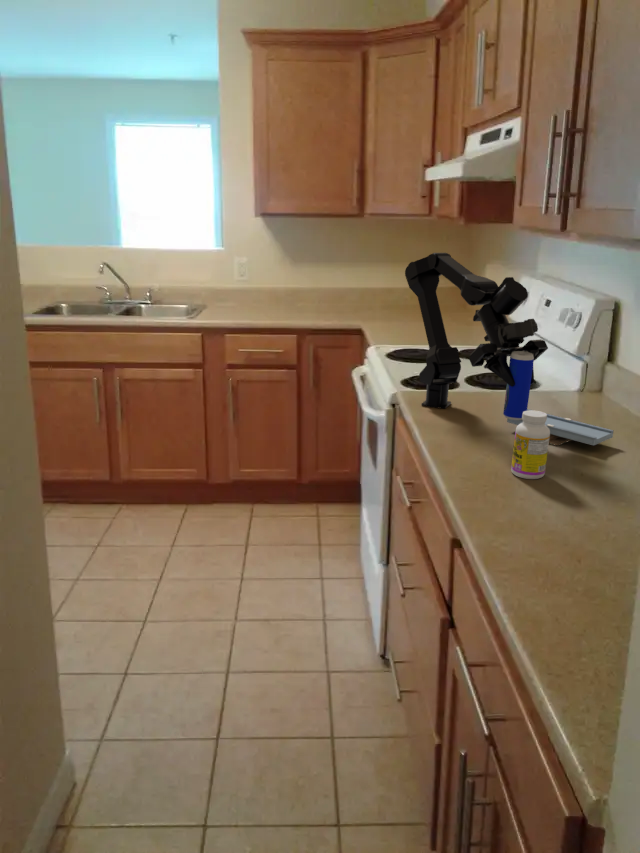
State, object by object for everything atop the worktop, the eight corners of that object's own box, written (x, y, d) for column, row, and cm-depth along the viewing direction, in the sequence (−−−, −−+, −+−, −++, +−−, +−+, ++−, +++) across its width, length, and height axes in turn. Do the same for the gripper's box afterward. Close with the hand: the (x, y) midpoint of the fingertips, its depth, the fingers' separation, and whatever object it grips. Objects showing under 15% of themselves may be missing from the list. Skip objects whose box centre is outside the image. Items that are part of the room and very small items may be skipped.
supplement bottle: (507, 467, 154) (514, 408, 151) (539, 469, 154) (547, 409, 150) (514, 479, 148) (521, 417, 144) (548, 481, 148) (556, 418, 144)
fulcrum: (533, 439, 173) (534, 432, 173) (557, 430, 180) (558, 423, 180) (557, 445, 169) (557, 438, 169) (580, 436, 176) (581, 429, 176)
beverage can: (506, 412, 175) (514, 349, 170) (528, 416, 173) (536, 353, 168) (500, 418, 171) (508, 353, 166) (522, 422, 169) (531, 357, 164)
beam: (506, 422, 179) (507, 414, 178) (527, 415, 185) (528, 408, 184) (593, 445, 164) (594, 437, 163) (612, 437, 170) (613, 429, 169)
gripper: (482, 308, 163) (510, 369, 158) (548, 304, 171) (576, 362, 166) (457, 336, 172) (482, 395, 167) (520, 332, 181) (546, 387, 175)
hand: (522, 384), depth 168 cm, fingers closed on beverage can, 5 cm apart
